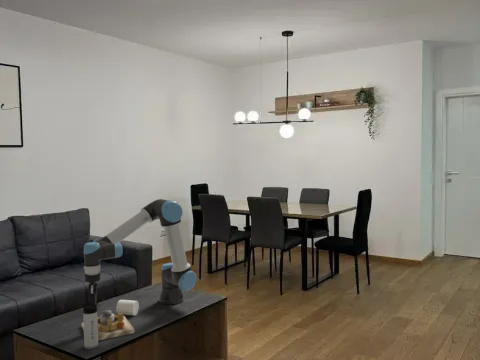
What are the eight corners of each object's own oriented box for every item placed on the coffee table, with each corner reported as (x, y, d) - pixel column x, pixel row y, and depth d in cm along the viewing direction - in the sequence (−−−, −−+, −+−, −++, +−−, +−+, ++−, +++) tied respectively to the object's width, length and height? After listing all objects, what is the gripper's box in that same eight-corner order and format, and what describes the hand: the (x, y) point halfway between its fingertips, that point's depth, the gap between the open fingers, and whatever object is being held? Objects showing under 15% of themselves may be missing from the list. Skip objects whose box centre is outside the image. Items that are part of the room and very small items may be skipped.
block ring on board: (123, 318, 240) (123, 301, 240) (134, 332, 221) (134, 314, 221) (81, 326, 230) (81, 308, 229) (89, 342, 211) (88, 323, 210)
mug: (133, 317, 242) (132, 303, 242) (116, 316, 244) (115, 302, 244) (142, 310, 254) (141, 296, 253) (126, 308, 256) (125, 295, 255)
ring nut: (104, 317, 235) (104, 308, 235) (132, 322, 229) (132, 312, 229) (84, 328, 221) (84, 318, 221) (113, 333, 215) (113, 323, 214)
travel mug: (87, 343, 210) (85, 302, 208) (100, 343, 209) (99, 302, 208) (81, 349, 203) (79, 306, 202) (94, 349, 203) (93, 307, 202)
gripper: (85, 270, 228) (87, 314, 230) (83, 277, 215) (84, 323, 217) (101, 269, 230) (102, 312, 231) (99, 276, 217) (100, 322, 219)
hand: (93, 318), depth 224 cm, fingers closed
